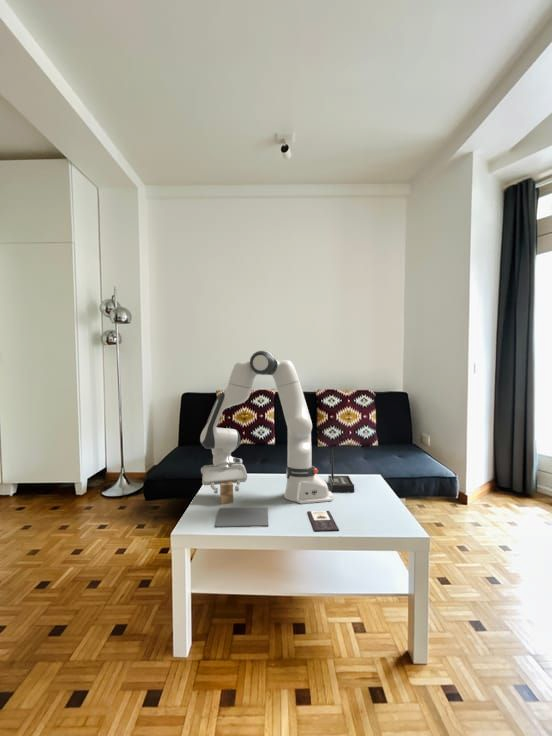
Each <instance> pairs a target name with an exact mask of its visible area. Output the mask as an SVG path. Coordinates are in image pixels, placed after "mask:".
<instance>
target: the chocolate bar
mask: <svg viewBox="0 0 552 736" xmlns="http://www.w3.org/2000/svg"><path fill="white" fill-rule="evenodd" d="M307 515H308V519H309V520H310V523H311V526H312V529H313V531H314V532H316V533H319V532H320V533H321V531H322V532H339V531H340V528H339V527H338V525H337V523H336V521H335V519H334V517H333V515H332V513H331V512H330V510H316V511H314V510H313V511H307Z"/></svg>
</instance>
